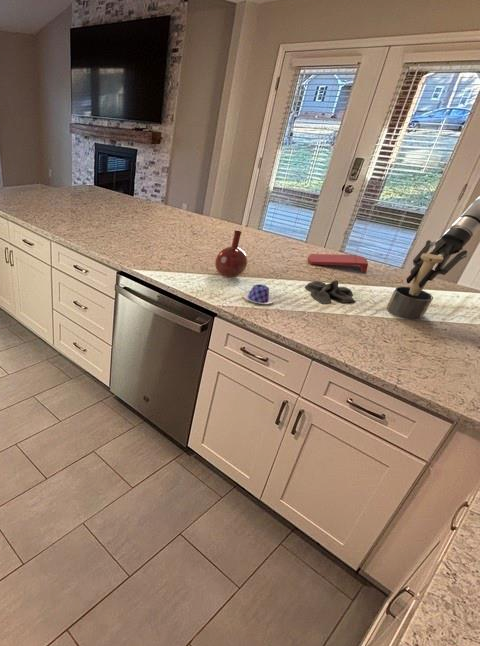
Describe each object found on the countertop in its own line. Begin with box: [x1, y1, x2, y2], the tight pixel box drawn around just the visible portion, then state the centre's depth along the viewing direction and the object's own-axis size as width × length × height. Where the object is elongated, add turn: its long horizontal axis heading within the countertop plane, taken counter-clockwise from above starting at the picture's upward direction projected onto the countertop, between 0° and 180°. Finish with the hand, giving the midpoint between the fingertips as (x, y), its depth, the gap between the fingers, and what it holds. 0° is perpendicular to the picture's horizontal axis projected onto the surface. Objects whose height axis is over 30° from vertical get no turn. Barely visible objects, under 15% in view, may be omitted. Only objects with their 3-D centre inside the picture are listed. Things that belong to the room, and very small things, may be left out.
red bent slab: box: [307, 253, 369, 273], centre depth 200 cm, size 12×5×25 cm
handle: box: [409, 252, 444, 296], centre depth 151 cm, size 5×6×15 cm
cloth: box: [304, 279, 356, 305], centre depth 169 cm, size 22×19×6 cm
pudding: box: [242, 283, 275, 305], centre depth 163 cm, size 12×12×5 cm
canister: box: [385, 286, 434, 321], centre depth 157 cm, size 12×12×8 cm
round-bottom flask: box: [214, 230, 248, 279], centre depth 177 cm, size 13×13×20 cm
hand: (413, 283), depth 151 cm, fingers closed on handle, 4 cm apart
